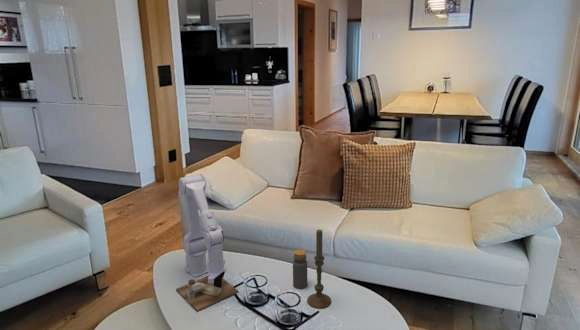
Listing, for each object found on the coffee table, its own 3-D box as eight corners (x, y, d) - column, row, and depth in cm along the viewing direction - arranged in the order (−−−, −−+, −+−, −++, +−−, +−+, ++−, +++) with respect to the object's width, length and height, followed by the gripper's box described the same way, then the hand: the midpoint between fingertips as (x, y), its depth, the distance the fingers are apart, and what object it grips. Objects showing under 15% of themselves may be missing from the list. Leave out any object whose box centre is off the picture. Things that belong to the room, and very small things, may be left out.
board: (176, 290, 156) (176, 288, 156) (215, 274, 167) (215, 272, 167) (197, 312, 143) (197, 309, 143) (238, 293, 154) (238, 290, 154)
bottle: (306, 289, 155) (306, 256, 152) (291, 288, 157) (291, 254, 153) (308, 282, 161) (308, 249, 157) (294, 280, 162) (294, 247, 158)
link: (186, 288, 155) (185, 282, 154) (191, 284, 158) (190, 278, 157) (217, 296, 150) (216, 290, 149) (221, 292, 152) (221, 285, 151)
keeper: (187, 296, 150) (186, 288, 149) (201, 291, 154) (200, 283, 153) (190, 300, 148) (189, 292, 147) (204, 295, 151) (203, 287, 150)
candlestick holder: (314, 311, 142) (315, 236, 134) (302, 298, 150) (302, 226, 142) (335, 304, 146) (337, 230, 138) (322, 292, 154) (323, 221, 146)
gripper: (219, 268, 143) (222, 301, 146) (231, 250, 156) (233, 279, 160) (201, 267, 144) (204, 299, 147) (214, 249, 157) (216, 278, 161)
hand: (218, 289), depth 154 cm, fingers closed, pressing on link
